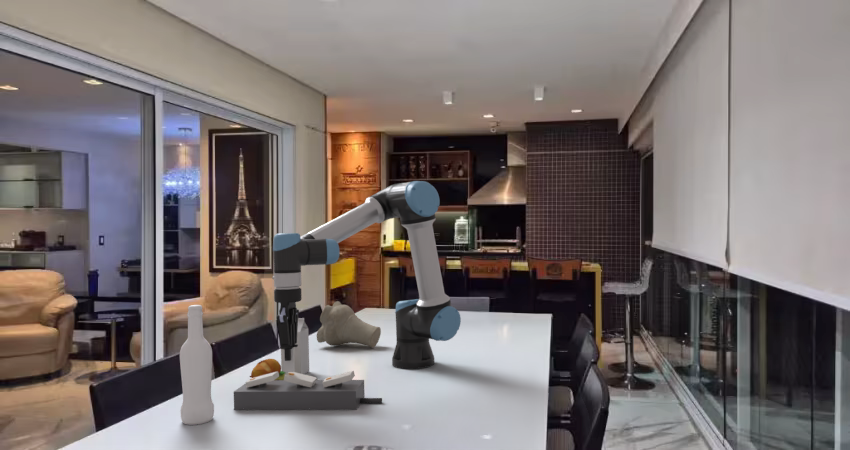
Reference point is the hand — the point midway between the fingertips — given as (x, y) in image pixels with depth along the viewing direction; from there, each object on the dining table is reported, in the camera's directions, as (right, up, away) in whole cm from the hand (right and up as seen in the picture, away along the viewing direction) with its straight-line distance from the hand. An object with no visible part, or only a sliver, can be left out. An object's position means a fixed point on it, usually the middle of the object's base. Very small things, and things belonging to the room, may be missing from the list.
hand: (289, 371), depth 168 cm
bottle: (-21, -10, -13) cm, 27 cm away
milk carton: (-6, -10, +35) cm, 36 cm away
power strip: (+6, -9, 0) cm, 11 cm away
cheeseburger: (-10, -10, +17) cm, 22 cm away
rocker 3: (+14, -2, -1) cm, 14 cm away
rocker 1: (-8, -3, +1) cm, 8 cm away
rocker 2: (+3, -2, 0) cm, 4 cm away
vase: (+8, -10, +78) cm, 79 cm away
